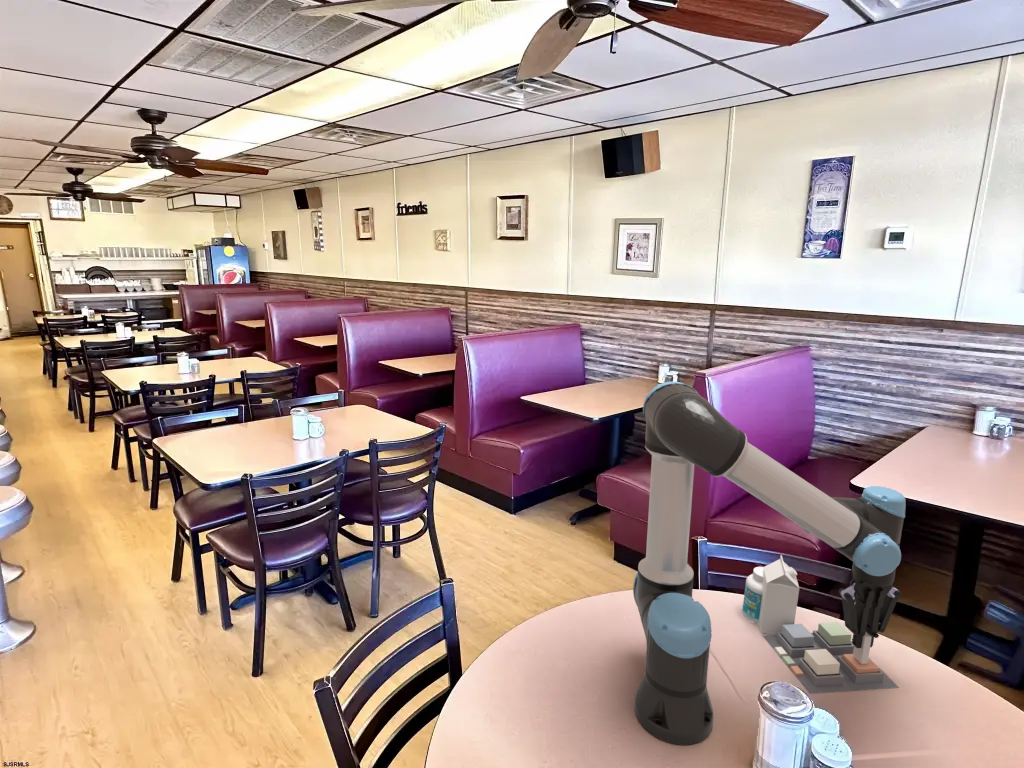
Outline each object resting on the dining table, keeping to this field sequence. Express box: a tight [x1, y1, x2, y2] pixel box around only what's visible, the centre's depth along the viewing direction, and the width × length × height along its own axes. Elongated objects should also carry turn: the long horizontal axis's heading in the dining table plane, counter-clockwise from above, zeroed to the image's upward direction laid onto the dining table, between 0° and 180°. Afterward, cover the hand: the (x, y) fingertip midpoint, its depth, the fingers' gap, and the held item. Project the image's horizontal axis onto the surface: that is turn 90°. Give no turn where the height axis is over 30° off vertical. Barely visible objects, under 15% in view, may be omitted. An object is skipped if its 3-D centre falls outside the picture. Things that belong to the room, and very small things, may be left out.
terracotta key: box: [842, 654, 880, 674], centre depth 123 cm, size 5×5×2 cm
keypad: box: [762, 629, 900, 695], centre depth 128 cm, size 20×19×3 cm
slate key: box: [782, 623, 814, 647], centre depth 131 cm, size 5×5×2 cm
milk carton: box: [757, 554, 800, 635], centre depth 138 cm, size 7×7×19 cm
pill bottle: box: [741, 566, 765, 624], centre depth 143 cm, size 8×7×14 cm
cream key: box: [804, 649, 840, 675], centre depth 122 cm, size 5×5×2 cm
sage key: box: [817, 621, 852, 645], centre depth 132 cm, size 5×5×2 cm
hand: (860, 659), depth 123 cm, fingers closed
